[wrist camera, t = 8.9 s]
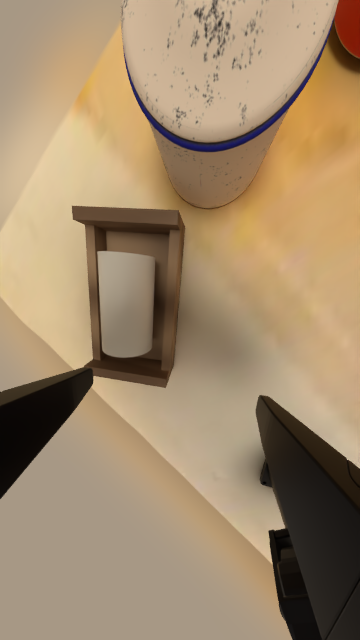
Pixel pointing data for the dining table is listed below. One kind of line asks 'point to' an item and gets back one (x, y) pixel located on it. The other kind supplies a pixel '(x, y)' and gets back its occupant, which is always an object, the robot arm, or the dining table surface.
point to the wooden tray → (167, 247)
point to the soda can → (348, 25)
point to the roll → (126, 302)
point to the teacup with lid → (219, 82)
